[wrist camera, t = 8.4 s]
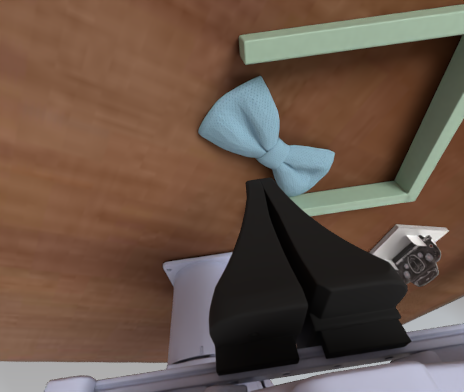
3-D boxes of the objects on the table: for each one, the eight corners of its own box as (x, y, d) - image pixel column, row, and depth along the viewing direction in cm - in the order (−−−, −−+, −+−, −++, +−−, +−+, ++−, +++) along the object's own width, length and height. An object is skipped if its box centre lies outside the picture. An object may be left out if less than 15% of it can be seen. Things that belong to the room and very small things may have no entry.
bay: (401, 187, 21) (415, 201, 19) (250, 209, 20) (253, 224, 19) (496, -1, 12) (533, 0, 11) (238, 35, 12) (243, 41, 11)
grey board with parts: (396, 224, 24) (427, 262, 21) (445, 227, 26) (482, 263, 22) (329, 293, 34) (343, 326, 31) (368, 293, 35) (386, 324, 32)
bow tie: (351, 169, 17) (296, 210, 19) (341, 157, 18) (290, 197, 20) (250, 67, 12) (191, 139, 14) (245, 60, 13) (192, 127, 15)
